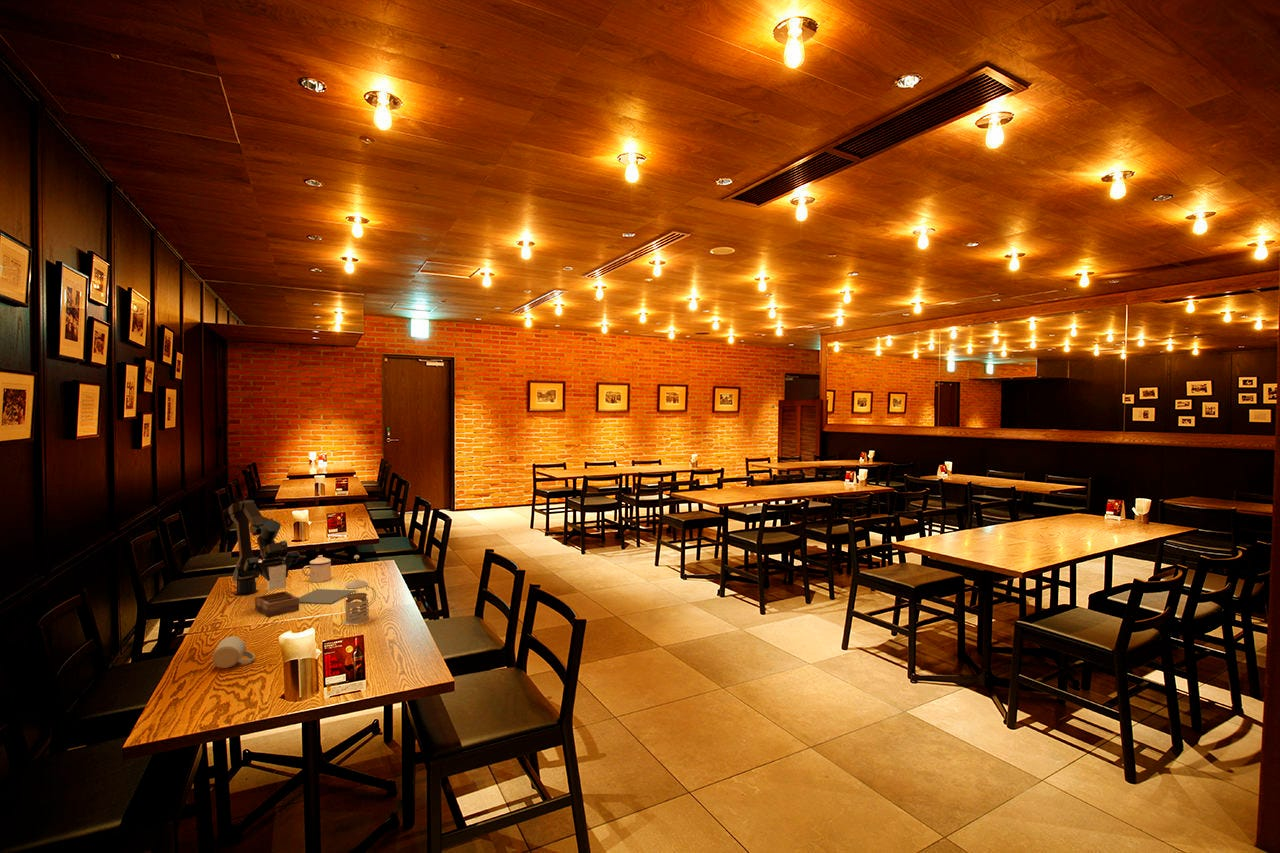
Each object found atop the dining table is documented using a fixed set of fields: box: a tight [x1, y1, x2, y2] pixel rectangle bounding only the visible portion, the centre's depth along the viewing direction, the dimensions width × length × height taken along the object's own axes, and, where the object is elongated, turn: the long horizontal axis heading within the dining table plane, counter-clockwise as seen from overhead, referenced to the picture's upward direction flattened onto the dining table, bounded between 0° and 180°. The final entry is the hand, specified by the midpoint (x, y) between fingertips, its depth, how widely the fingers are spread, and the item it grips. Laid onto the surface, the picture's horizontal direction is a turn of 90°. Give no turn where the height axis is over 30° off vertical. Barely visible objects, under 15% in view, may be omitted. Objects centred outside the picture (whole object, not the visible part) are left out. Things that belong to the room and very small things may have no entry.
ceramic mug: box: [212, 635, 256, 669], centre depth 188 cm, size 11×8×8 cm
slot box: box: [254, 590, 300, 618], centre depth 239 cm, size 14×11×5 cm
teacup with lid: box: [302, 554, 332, 583], centre depth 282 cm, size 12×9×12 cm
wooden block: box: [266, 563, 287, 592], centre depth 239 cm, size 2×6×9 cm, turn 139°
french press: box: [342, 554, 377, 626], centre depth 228 cm, size 10×12×25 cm
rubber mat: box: [298, 588, 357, 605], centre depth 257 cm, size 18×18×1 cm
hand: (278, 578), depth 238 cm, fingers closed on wooden block, 6 cm apart
